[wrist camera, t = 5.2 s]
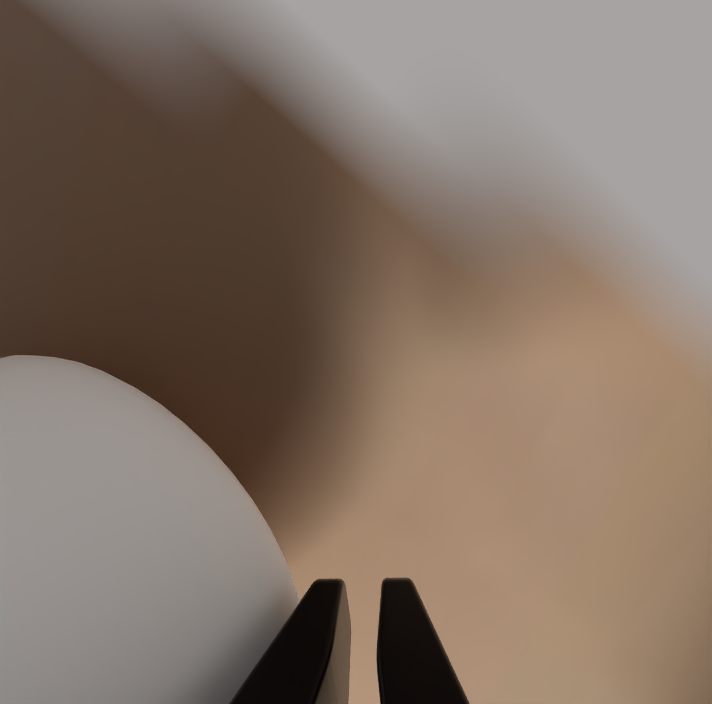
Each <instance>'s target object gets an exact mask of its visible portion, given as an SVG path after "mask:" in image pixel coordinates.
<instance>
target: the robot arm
mask: <svg viewBox="0 0 712 704" xmlns="http://www.w3.org/2000/svg"><path fill="white" fill-rule="evenodd" d="M350 646H351V621H350V614H349V607H348V600H347V592H346V586H345V583H344V581H343V580H342V579H318V580H316V581H314V582H313V584H312V585H311V586H310V588H309V589H308V591H307V592H306V594H305V595H304V597H303V598H302V599H301V601H300V602H299V604H298V605H297V607H296V608H295V609H294V611H293V612H292V614H291V615H290V617H289V618H288V620H287V621H286V622H285V624H284V625H283V627H282V628H281V630H280V631H279V632H278V634H277V635H276V637H275V638H274V640H273V641H272V643H271V644H270V645H269V647H268V648H267V650H266V651H265V653H264V654H263V655H262V657H261V658H260V660H259V661H258V663H257V664H256V666H255V667H254V668H253V670H252V671H251V673H250V674H249V676H248V677H247V679H246V680H245V681H244V683H243V684H242V686H241V687H240V689H239V690H238V691H237V693H236V694H235V696H234V697H233V699H232V700H231V702H230V703H229V704H348V696H349V671H350ZM377 673H378V683H379V693H380V703H381V704H469V701H468V699H467V697H466V695H465V693H464V691H463V689H462V686H461V684H460V682H459V680H458V678H457V676H456V673H455V671H454V669H453V667H452V665H451V663H450V661H449V658H448V656H447V654H446V652H445V650H444V648H443V645H442V643H441V641H440V639H439V637H438V635H437V633H436V630H435V628H434V626H433V624H432V622H431V620H430V617H429V615H428V613H427V611H426V609H425V607H424V605H423V602H422V600H421V598H420V596H419V594H418V592H417V589H416V587H415V585H414V583H413V581H412V580H411V579H409V578H385V579H384V580H383V581H382V587H381V599H380V612H379V625H378V639H377Z"/></svg>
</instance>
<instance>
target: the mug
mask: <svg viewBox="0 0 712 704" xmlns="http://www.w3.org/2000/svg"><path fill="white" fill-rule="evenodd" d="M299 602H300V601H299V597H298V593H297V590H296V587H295V584H294V581H293V578H292V576H291V573H290V570H289V568H288V565H287V563H286V560H285V557H284V555H283V553H282V551H281V549H280V547H279V545H278V543H277V541H276V539H275V537H274V535H273V533H272V531H271V529H270V527H269V526H268V524H267V522H266V521H265V519H264V518H263V516H262V514H261V513H260V511H259V509H258V508H257V506H256V505H255V503H254V501H253V500H252V498H251V497H250V496H249V494H248V493H247V492H246V490H245V489H244V488H243V486H242V485H241V484H240V482H239V481H238V480H237V478H236V477H235V476H234V474H233V473H232V472H231V471H230V469H229V468H228V467H227V466H226V465H225V464H224V463H223V462H222V460H221V459H220V458H219V457H218V456H217V455H216V454H215V452H214V451H213V450H212V449H211V448H210V447H209V446H208V445H207V444H206V443H205V442H204V441H203V440H202V439H201V438H200V437H199V436H198V435H197V434H196V433H194V432H193V431H192V430H191V429H190V428H189V427H188V426H187V425H186V424H185V423H184V422H182V421H181V420H180V419H179V418H177V417H176V416H175V415H174V414H172V413H171V412H170V411H169V410H167V409H166V408H165V407H164V406H162V405H161V404H160V403H158V402H157V401H155V400H153V399H152V398H150V397H149V396H147V395H146V394H144V393H143V392H141V391H140V390H138V389H137V388H135V387H133V386H131V385H129V384H127V383H125V382H123V381H121V380H119V379H117V378H115V377H113V376H112V375H110V374H108V373H106V372H104V371H102V370H99V369H96V368H93V367H91V366H88V365H85V364H82V363H80V362H76V361H71V360H66V359H62V358H57V357H47V356H34V355H13V356H8V357H3V358H0V704H229V703H230V702H231V700H232V699H233V697H234V696H235V694H236V693H237V691H238V690H239V689H240V687H241V686H242V684H243V683H244V681H245V680H246V679H247V677H248V676H249V674H250V673H251V671H252V670H253V668H254V667H255V666H256V664H257V663H258V661H259V660H260V658H261V657H262V655H263V654H264V653H265V651H266V650H267V648H268V647H269V645H270V644H271V643H272V641H273V640H274V638H275V637H276V635H277V634H278V632H279V631H280V630H281V628H282V627H283V625H284V624H285V622H286V621H287V620H288V618H289V617H290V615H291V614H292V612H293V611H294V609H295V608H296V607H297V605H298V604H299Z"/></svg>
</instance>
